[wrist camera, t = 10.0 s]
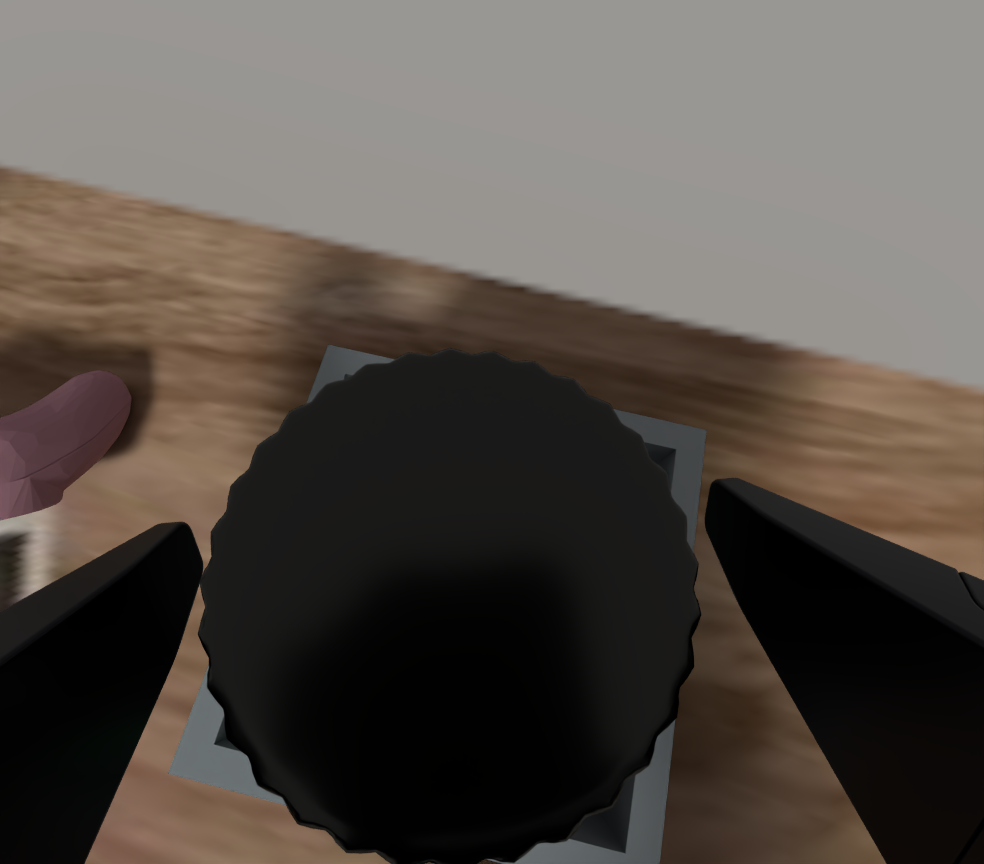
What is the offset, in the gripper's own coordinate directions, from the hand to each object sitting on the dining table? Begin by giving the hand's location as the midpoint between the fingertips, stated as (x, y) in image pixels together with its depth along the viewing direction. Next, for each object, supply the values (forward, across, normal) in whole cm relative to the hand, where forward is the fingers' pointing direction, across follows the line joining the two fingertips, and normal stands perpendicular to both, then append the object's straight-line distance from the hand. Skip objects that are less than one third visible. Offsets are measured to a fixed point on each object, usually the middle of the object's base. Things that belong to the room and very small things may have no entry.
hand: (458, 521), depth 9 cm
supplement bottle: (+5, 0, +6) cm, 8 cm away
